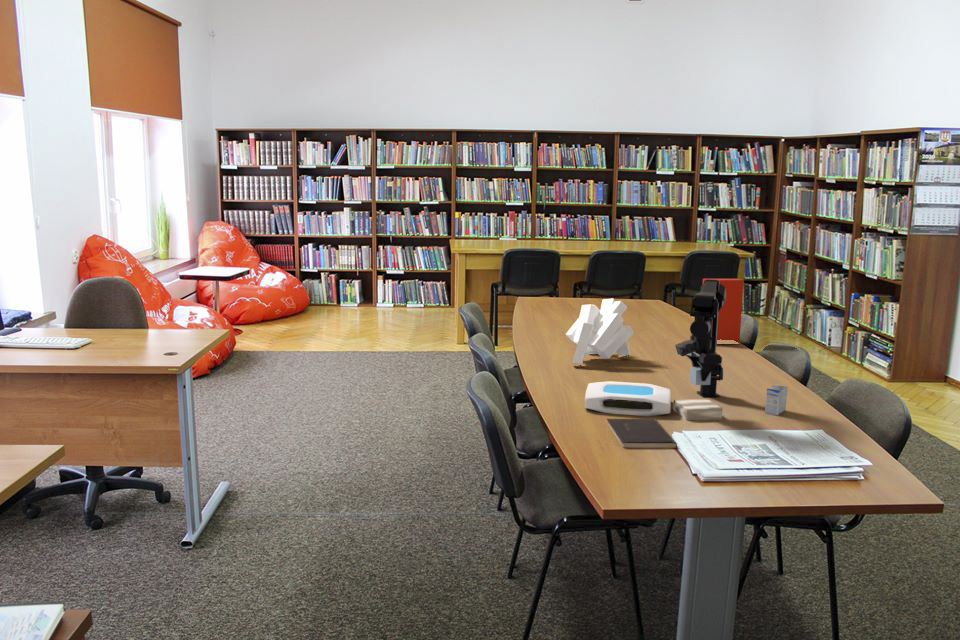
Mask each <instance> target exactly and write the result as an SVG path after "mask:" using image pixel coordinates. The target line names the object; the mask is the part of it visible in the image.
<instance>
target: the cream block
mask: <svg viewBox="0 0 960 640" xmlns="http://www.w3.org/2000/svg"><path fill="white" fill-rule="evenodd" d="M672 404H673V405H672V408H673V409H672V411H674V412H675V413H676V414H678V415H679V416H680V417H681V418H683V419H684V420H685V421H711V420H712V421H713V420H723V410H724V409H723V407H720V406H719V405H717V404H716V403H715V402H713V401H711V400H710V399H708V398H696V399H695V398H690V399H687V398H685V399H683V398H681V399H673V403H672Z"/></svg>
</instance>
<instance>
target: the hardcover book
mask: <svg viewBox="0 0 960 640" xmlns="http://www.w3.org/2000/svg"><path fill="white" fill-rule="evenodd" d="M606 420H607V425H608V427H610V430H611V431H612V433H613V434H614V437H616V439H617V440H618V442H619V443H620V446H621V447H622V448H629V449H630V448H636V449H637V448H643V449H645V448H656V449H657V448H662V449H663V448H665V449H666V448H674V449H675V448H676V449H677V448H678V444H677V442H676V441H675V439H673V437H672V436H671V435H670V433H669V432H667V430H666V429H665V428H664V427H663V425H662V424H661V423H660V422H659V421H658V420H657V419H656V418H606Z"/></svg>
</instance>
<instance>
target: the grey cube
mask: <svg viewBox="0 0 960 640" xmlns="http://www.w3.org/2000/svg"><path fill="white" fill-rule="evenodd" d="M689 369H690V371H689V382H690V383H692V384H693V385H695V386H700V385H710V380H711V372H710V374H709V375H708V377H707V379H706V381H702V380H701V368H700V367H693V366H690V368H689Z"/></svg>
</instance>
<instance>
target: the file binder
mask: <svg viewBox="0 0 960 640" xmlns="http://www.w3.org/2000/svg"><path fill="white" fill-rule="evenodd" d="M707 279H708V278H702V285H703V284H704V280H707ZM713 279H714V280H719V281H720V284H722V285H723V286H724V287H725V288H726V300H725V301H724V303H723V306H722V307H721V309H720V310H719V312H718V327H717V340H720V339H721V340H734V341H736V342H738V343H739V344H740V341H741V339H740V338H741V324H742V310H743V307H742V306H743V296H744V295H743V293H744V279H740V278H713Z"/></svg>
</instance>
